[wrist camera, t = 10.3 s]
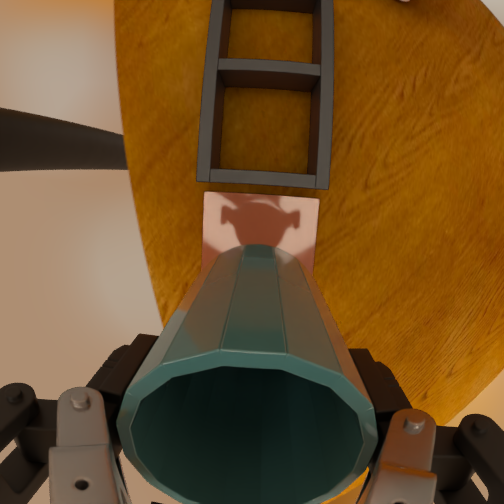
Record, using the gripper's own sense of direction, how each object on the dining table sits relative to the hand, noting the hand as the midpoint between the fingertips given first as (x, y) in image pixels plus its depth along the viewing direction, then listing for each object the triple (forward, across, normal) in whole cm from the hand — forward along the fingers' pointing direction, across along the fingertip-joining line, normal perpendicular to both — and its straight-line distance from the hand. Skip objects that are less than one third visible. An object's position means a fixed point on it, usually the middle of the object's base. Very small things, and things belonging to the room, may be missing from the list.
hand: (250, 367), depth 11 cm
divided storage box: (+19, 0, -15) cm, 24 cm away
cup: (+6, 0, 0) cm, 6 cm away
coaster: (+19, 0, 0) cm, 19 cm away
